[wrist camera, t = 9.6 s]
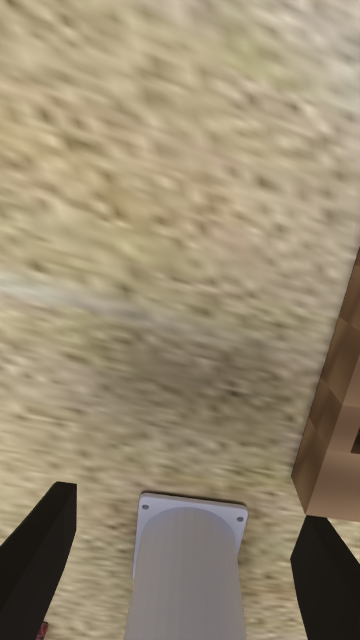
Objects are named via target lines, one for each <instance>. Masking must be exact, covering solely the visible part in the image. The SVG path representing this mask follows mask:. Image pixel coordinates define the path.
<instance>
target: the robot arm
mask: <svg viewBox="0 0 360 640" xmlns="http://www.w3.org/2000/svg"><path fill="white" fill-rule="evenodd" d="M76 515H77V484H73V483H66V482H59V481H57V482H56V483H54V484H53V485H52V487H51V488H50V489H49V490H48V492H47V493H46V494H45V495H44V497H43V498H42V499H41V500H40V502H39V503H38V504H37V505H36V506H35V507H34V509H33V510H32V511H31V512H30V513H29V515H28V516H27V517H26V518H25V519H24V520H23V521H22V523H21V524H20V525H19V526H18V527H17V528H16V529H15V530H14V532H13V533H12V534H11V535H10V536H9V537H8V538H7V539H6V540H5V541H4V543H3V544H2V545H1V546H0V640H35V639H36V637H37V635H38V632H39V630H40V627H41V625H42V622H43V620H44V618H45V615H46V613H47V610H48V608H49V605H50V603H51V600H52V598H53V595H54V593H55V591H56V588H57V586H58V583H59V581H60V578H61V576H62V573H63V571H64V568H65V565H66V562H67V559H68V555H69V552H70V549H71V546H72V542H73V539H74V536H75V533H76ZM247 517H248V509H247V507H246V506H244V505H238V504H231V503H223V502H215V501H207V500H199V499H191V498H184V497H176V496H168V495H160V494H152V493H143V494H141V496H140V499H139V509H138V520H137V531H136V542H135V552H134V563H133V574H132V579H133V580H134V581H133V587H132V593H131V599H130V605H129V611H128V617H127V623H126V628H125V634H124V640H247V636H246V627H245V619H244V610H243V602H242V594H241V585H240V577H239V568H238V560H237V557H238V553H239V549H240V545H241V541H242V537H243V533H244V529H245V525H246V521H247ZM290 560H291V566H292V572H293V578H294V584H295V590H296V595H297V600H298V604H299V608H300V612H301V616H302V619H303V623H304V627H305V631H306V634H307V638H308V640H360V564H359V562H358V561H357V560H356V558H355V557H354V555H353V554H352V553H351V551H350V550H349V548H348V547H347V546H346V544H345V543H344V541H343V540H342V539H341V537H340V536H339V534H338V533H337V532H336V530H335V529H334V527H333V526H332V525H331V523H330V522H329V521H328V519H327V518H326V517H319V516H312V515H306V518H305V521H304V523H303V526H302V529H301V531H300V534H299V536H298V539H297V542H296V544H295V547H294V550H293V552H292V555H291V558H290Z"/></svg>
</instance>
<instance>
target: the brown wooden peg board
mask: <svg viewBox="0 0 360 640" xmlns="http://www.w3.org/2000/svg"><path fill="white" fill-rule="evenodd" d="M359 428H360V248H359V252H358V255H357V258H356V262H355V265H354V268H353V272H352V275H351V278H350V282H349V285H348V288H347V292H346V295H345V298H344V302H343V305H342V308H341V312H340V315H339V318H338V322H337V325H336V328H335V332H334V335H333V338H332V342H331V345H330V348H329V352H328V355H327V358H326V362H325V365H324V368H323V372H322V375H321V378H320V382H319V385H318V388H317V392H316V395H315V398H314V402H313V405H312V408H311V412H310V415H309V418H308V422H307V425H306V428H305V432H304V435H303V438H302V442H301V445H300V448H299V452H298V455H297V458H296V462H295V465H294V468H293V472H292V475H291V477H292V479H293V482H294V485H295V488H296V491H297V493H298V496H299V499H300V502H301V505H302V507H303V510H304V513H305V515H312V516H319V517H326V518H333V519H341V520H349V521H357V522H360V435H359V433H358V430H359Z"/></svg>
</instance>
